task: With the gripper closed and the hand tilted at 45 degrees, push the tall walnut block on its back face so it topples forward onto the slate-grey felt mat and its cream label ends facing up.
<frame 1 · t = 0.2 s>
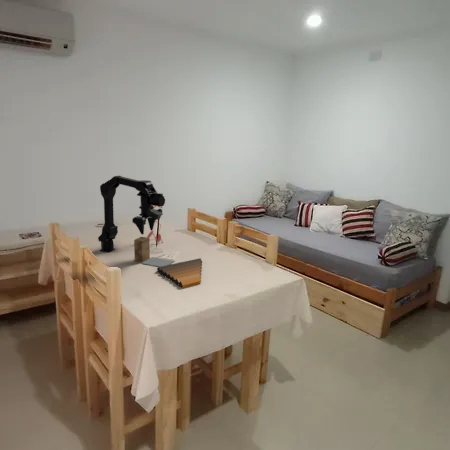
hand: (147, 232, 198), 15 cm above the table, tool pointing down, fingers open, 9 cm apart
walnut block: (142, 259, 197), on the table
red flower sculpture: (149, 242, 229), on the table
felt mat: (158, 262, 194), on the table
pan flute: (191, 275, 180), on the table
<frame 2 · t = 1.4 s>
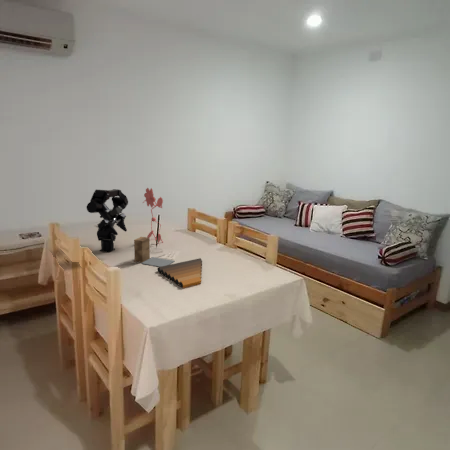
hand: (121, 232, 199), 14 cm above the table, tool tilted 45°, fingers open, 8 cm apart
nothing on the table moved.
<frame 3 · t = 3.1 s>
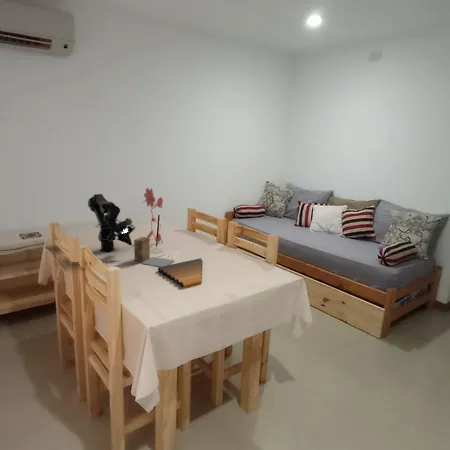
hand: (131, 244, 198), 8 cm above the table, tool tilted 45°, fingers closed
nothing on the table moved.
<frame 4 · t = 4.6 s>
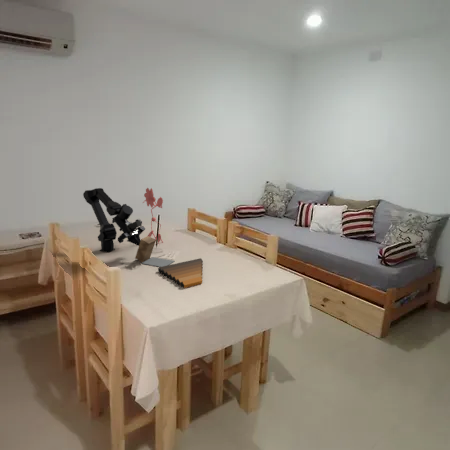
hand: (141, 246, 195), 8 cm above the table, tool tilted 45°, fingers closed
walnut block: (142, 258, 197), point 1 cm above the table, tilted 20°, touching gripper
everything else where it was.
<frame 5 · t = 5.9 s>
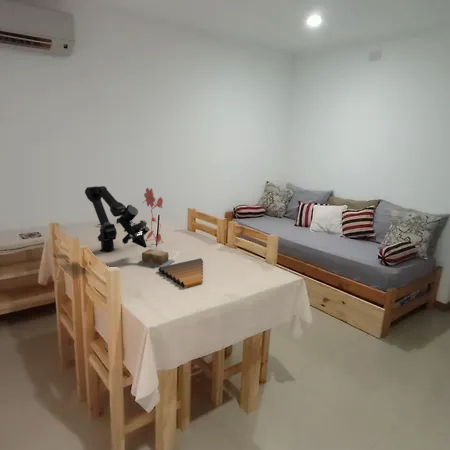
hand: (146, 247, 195), 8 cm above the table, tool tilted 45°, fingers closed
walnut block: (145, 255, 196), point 3 cm above the table, tilted 90°, touching felt mat
everything else where it was.
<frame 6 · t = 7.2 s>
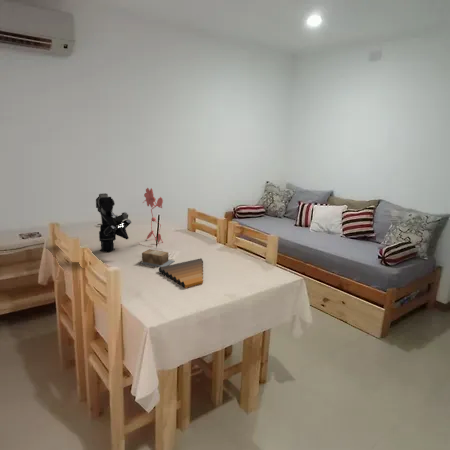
hand: (127, 238, 198), 11 cm above the table, tool tilted 45°, fingers closed
nothing on the table moved.
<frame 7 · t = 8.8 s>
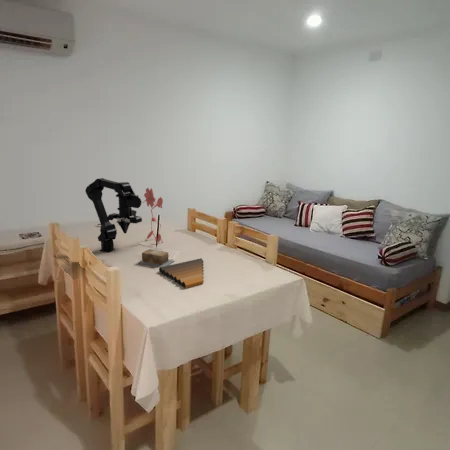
hand: (125, 233, 200), 13 cm above the table, tool pointing down, fingers closed
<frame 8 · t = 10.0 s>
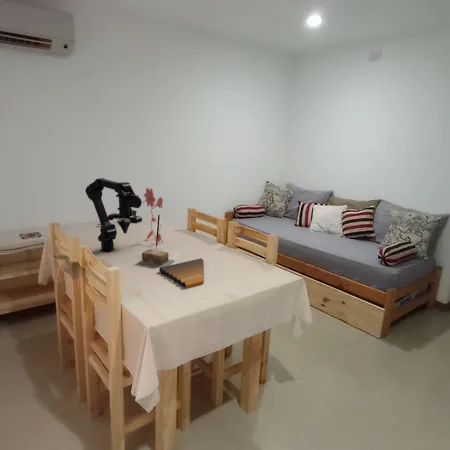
hand: (125, 233, 200), 13 cm above the table, tool pointing down, fingers closed
at the end: walnut block tilted 90°; walnut block inside the target area (1.8 cm from its centre), point 2.9 cm above the table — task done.
